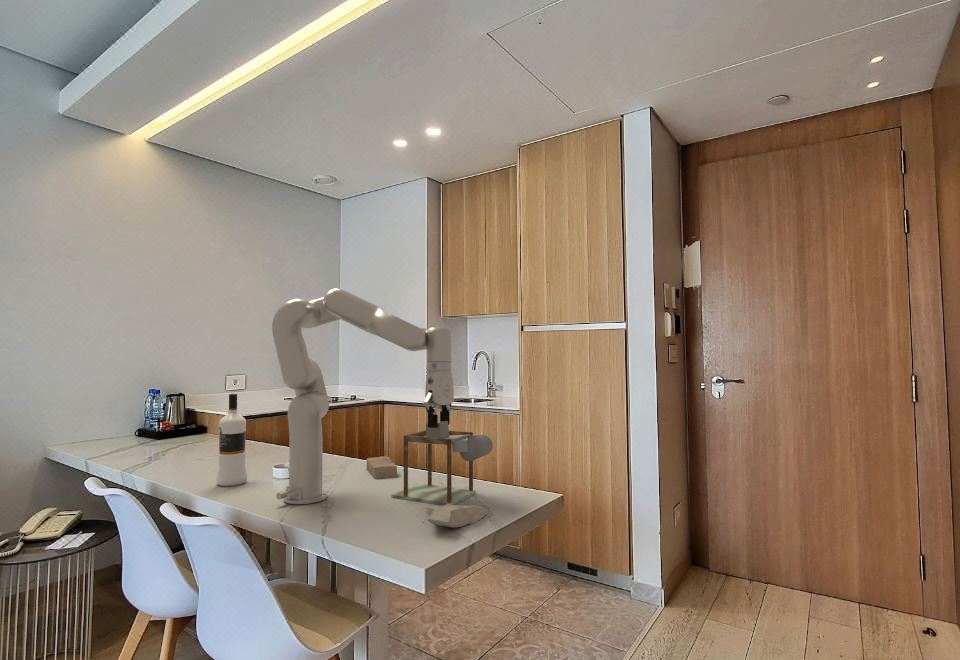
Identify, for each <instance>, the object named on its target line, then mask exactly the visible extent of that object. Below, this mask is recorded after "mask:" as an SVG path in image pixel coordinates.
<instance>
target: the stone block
mask: <svg viewBox="0 0 960 660" xmlns="http://www.w3.org/2000/svg"><path fill="white" fill-rule="evenodd" d="M425 430H426V434H427V436H426V437H431V438H443V439H445V438H448V437H449V431H450V429H449V425H448V421H440V420H438V427H437V428H429V427H428V422H427V423H425Z"/></svg>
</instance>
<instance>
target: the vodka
mask: <svg viewBox="0 0 960 660" xmlns="http://www.w3.org/2000/svg"><path fill="white" fill-rule="evenodd" d="M218 426H219V429H218V430H219V435H218V437H219V439H218V441H219V443H218V470H217V471H218V472H217V476H216V484H217V485H218V486H220V487H235V486H240V485H243V484H244V483H246V482H247V480H248V474H247V468H246V454H247V452H246V431H247V420H246V418H245V417H244V416H243V415H241V414H239V413H238V394H237V393H229V394H228V414H227V413H226V415H225V416H223V417H222V418H221V419H219V422H218Z"/></svg>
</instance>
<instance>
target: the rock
mask: <svg viewBox="0 0 960 660" xmlns="http://www.w3.org/2000/svg"><path fill="white" fill-rule="evenodd" d="M426 511H427V514H428V515H429V516H427V517H426V521H427V522H429V523H432V524H434V525H436V526H439V527H447V528H459V527H464V526H467V525H469V524H475V523H477V522H479V521H480V520H482V519H481V518H484V517H485V516H486V515H488V513H489V511H488V510H487V509H486V508H484V507H481V506H479V505H464V504H463V505H458V504H455V505H451V504H446V505H438V506H437V505H433V506H427V507H426ZM478 520H479V521H478ZM476 521H477V522H476Z"/></svg>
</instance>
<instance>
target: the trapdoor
mask: <svg viewBox="0 0 960 660" xmlns="http://www.w3.org/2000/svg"><path fill="white" fill-rule="evenodd" d="M445 439H451V450H452V453H459V455H460V458H462V459H463V460H464V461H466V462H469V461H473V462H474V461H475V460H478V459H480V458H482V457H485V456H487V455H489V454H491V452H492V451H493V447H494V445H493V441H492V439H491V438H490V437H489V436H487V435H485V434H479V435H478V434H476V435H474V434H473V436H471V435H470V434H467V435H453V436H449V437H448V438H445ZM428 444H431V443H420V442H409V445H410V446H411V445H412V446H414V445H415V446H416V445H417V446H418V445H428Z"/></svg>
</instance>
